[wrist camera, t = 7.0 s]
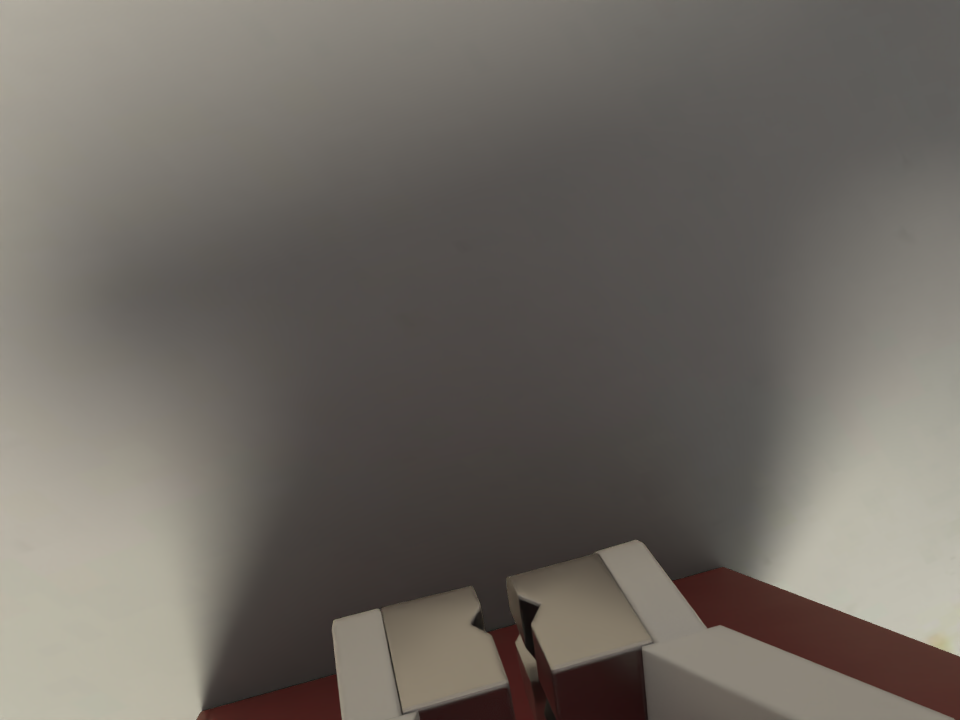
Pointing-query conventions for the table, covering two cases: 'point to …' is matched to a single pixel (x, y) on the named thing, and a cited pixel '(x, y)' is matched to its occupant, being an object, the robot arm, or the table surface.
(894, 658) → the hardcover
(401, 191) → the table surface
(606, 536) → the table surface
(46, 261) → the table surface
